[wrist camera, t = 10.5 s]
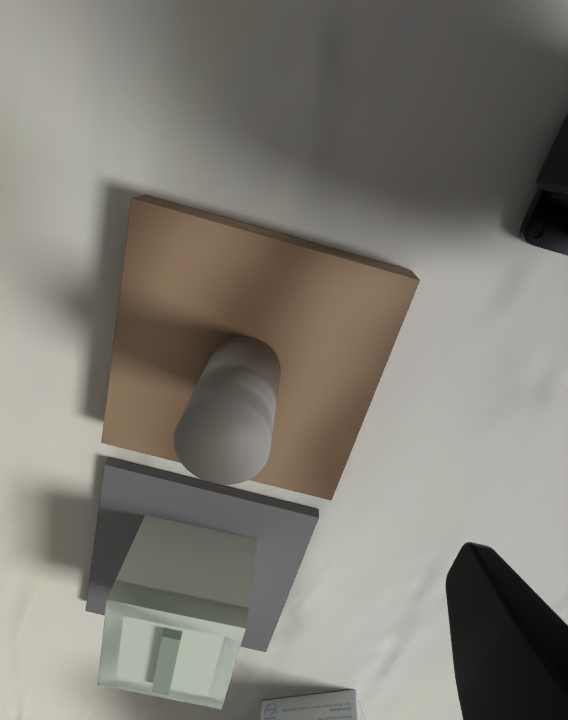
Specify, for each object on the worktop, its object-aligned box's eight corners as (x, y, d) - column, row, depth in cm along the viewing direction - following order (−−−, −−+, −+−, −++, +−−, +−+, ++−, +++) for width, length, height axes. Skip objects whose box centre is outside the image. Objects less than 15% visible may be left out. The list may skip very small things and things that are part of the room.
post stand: (411, 270, 19) (463, 332, 12) (330, 480, 23) (337, 603, 17) (145, 194, 18) (55, 218, 12) (114, 425, 23) (36, 532, 16)
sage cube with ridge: (257, 539, 24) (244, 637, 19) (236, 614, 27) (220, 718, 22) (145, 515, 24) (102, 608, 19) (134, 593, 27) (94, 693, 22)
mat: (318, 509, 24) (318, 517, 24) (266, 642, 29) (265, 652, 28) (109, 457, 23) (104, 464, 23) (89, 601, 28) (85, 610, 27)
